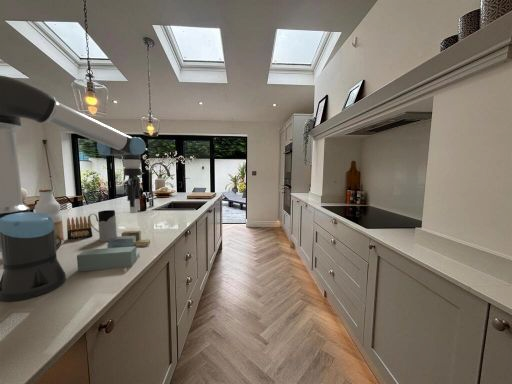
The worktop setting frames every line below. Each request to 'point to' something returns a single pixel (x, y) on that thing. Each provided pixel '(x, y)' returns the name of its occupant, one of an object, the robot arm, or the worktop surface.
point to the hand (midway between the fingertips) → (135, 211)
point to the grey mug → (106, 224)
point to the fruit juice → (51, 210)
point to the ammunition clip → (78, 229)
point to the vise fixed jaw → (107, 258)
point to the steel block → (122, 241)
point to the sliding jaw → (138, 238)
